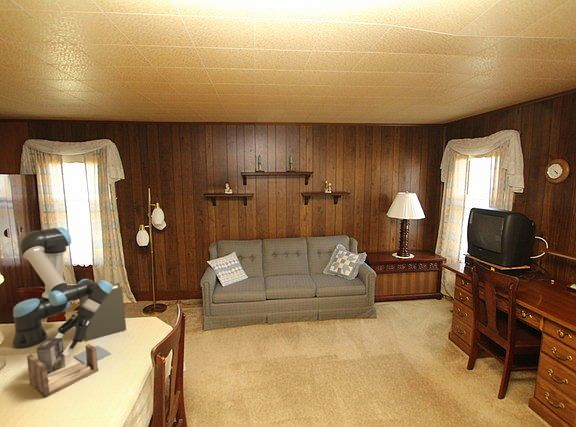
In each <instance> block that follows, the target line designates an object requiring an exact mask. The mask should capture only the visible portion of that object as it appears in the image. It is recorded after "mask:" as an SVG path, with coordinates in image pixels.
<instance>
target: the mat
mask: <svg viewBox="0 0 576 427" xmlns="http://www.w3.org/2000/svg"><path fill="white" fill-rule="evenodd" d="M94 347H95V348H96V352H97V362H98V361H100V360H103V359H104V358H106V357H108V356H110V355H112V352H110V351H108V350H107V349H105V348H103V347H101V346H99V345H95V346H94ZM73 358H75V359H76V360H78V362H82V363H84V364H86V365H87V358H86V350H84V351H82V352H80V353H77V354H74V355H73Z"/></svg>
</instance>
